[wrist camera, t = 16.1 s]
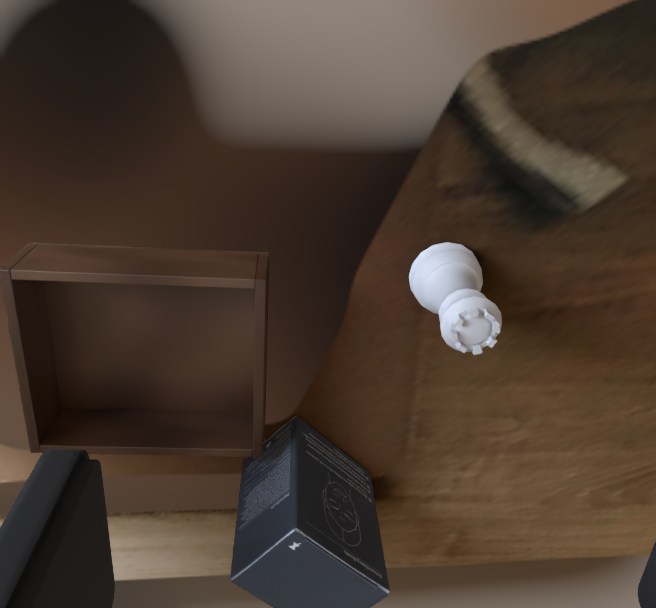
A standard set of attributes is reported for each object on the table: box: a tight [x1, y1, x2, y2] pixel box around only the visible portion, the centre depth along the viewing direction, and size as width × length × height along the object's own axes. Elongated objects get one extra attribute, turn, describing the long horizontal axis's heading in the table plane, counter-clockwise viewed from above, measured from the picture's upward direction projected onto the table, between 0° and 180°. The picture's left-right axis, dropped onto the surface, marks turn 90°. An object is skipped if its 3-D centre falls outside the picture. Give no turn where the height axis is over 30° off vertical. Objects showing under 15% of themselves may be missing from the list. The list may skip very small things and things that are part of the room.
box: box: [230, 416, 390, 608], centre depth 40 cm, size 8×6×11 cm
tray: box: [0, 242, 269, 457], centre depth 38 cm, size 14×12×4 cm
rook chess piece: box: [409, 242, 502, 355], centre depth 36 cm, size 4×4×8 cm
